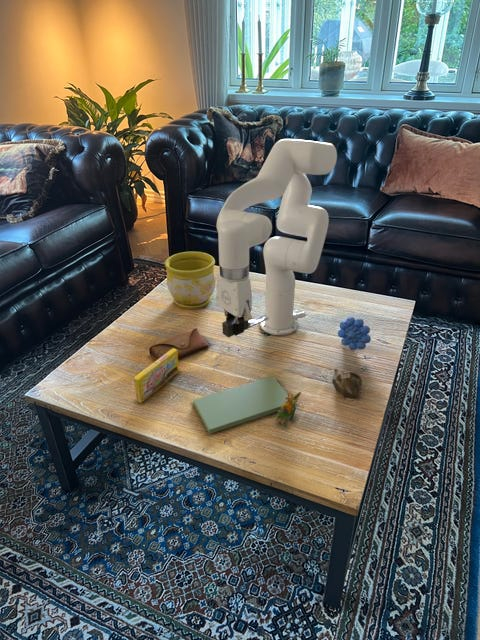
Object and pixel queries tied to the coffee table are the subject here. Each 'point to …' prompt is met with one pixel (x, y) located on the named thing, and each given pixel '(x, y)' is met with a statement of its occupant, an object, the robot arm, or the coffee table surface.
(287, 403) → the figurine
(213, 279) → the flowerpot
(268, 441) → the coffee table surface
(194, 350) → the sunglasses case
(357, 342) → the blue flower shape
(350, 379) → the fossilized seashell
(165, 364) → the candy box
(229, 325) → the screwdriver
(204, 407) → the sage board
